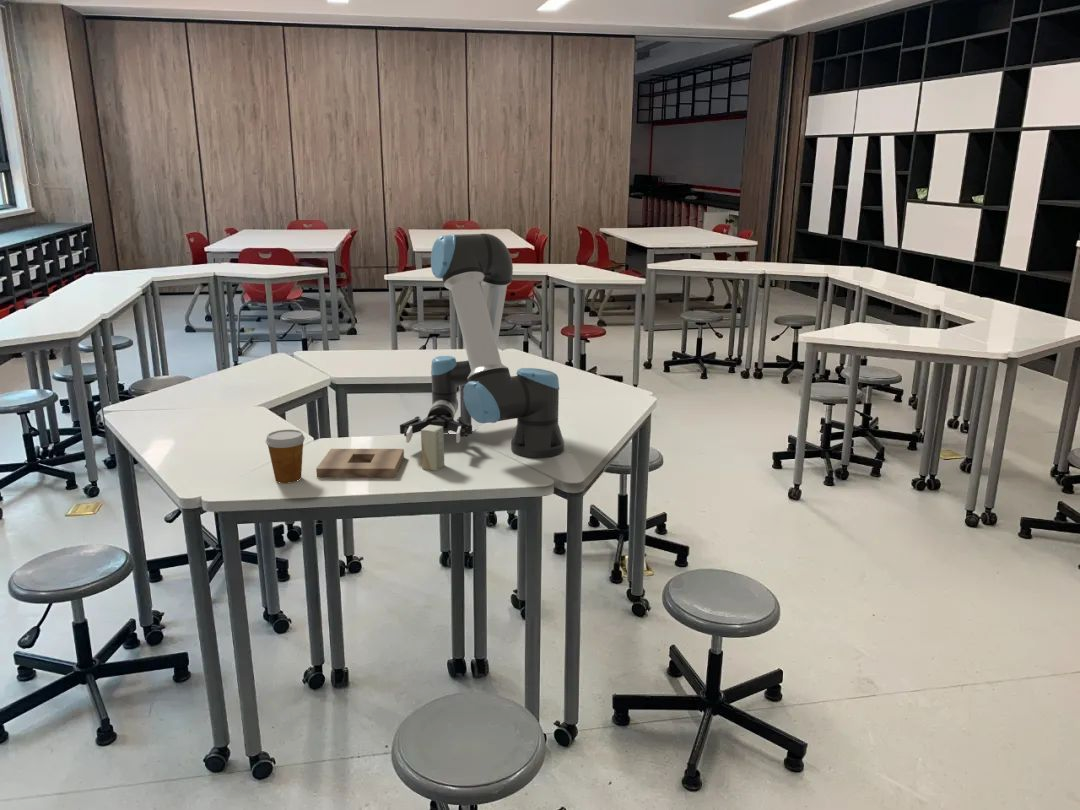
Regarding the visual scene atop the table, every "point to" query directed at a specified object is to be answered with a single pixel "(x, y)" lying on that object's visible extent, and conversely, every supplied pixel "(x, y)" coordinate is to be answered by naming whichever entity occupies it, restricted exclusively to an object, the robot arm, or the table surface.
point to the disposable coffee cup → (286, 454)
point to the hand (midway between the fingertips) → (432, 437)
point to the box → (432, 447)
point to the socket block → (361, 463)
